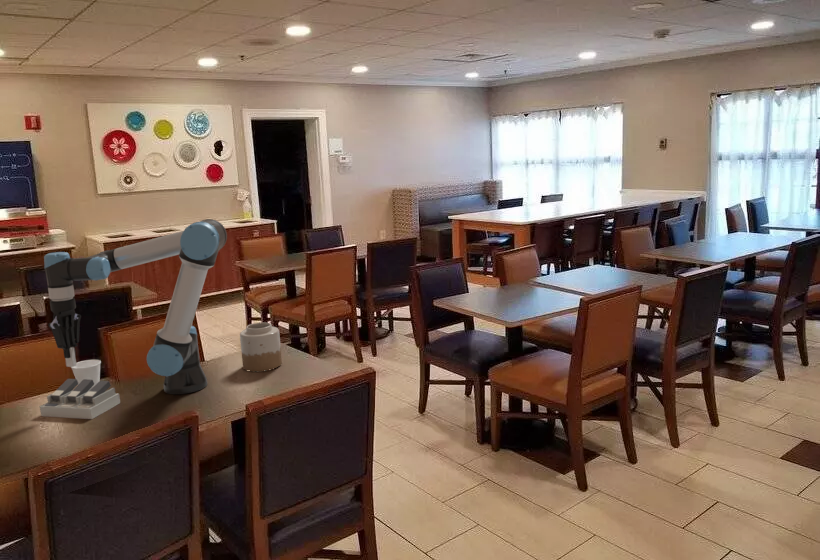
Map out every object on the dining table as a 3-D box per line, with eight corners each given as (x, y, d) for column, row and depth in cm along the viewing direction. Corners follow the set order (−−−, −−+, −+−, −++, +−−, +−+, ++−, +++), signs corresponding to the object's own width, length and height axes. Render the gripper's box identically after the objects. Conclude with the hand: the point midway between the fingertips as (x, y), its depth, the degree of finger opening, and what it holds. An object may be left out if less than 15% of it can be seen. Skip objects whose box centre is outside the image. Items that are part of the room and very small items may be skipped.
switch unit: (120, 402, 224) (118, 386, 223) (91, 419, 211) (89, 402, 210) (71, 400, 229) (69, 384, 228) (41, 416, 216) (38, 399, 214)
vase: (289, 364, 257) (286, 324, 254) (257, 375, 247) (253, 333, 243) (267, 357, 268) (264, 318, 265) (235, 367, 257) (231, 327, 254)
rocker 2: (94, 384, 223) (92, 379, 222) (78, 401, 216) (75, 396, 215) (85, 383, 224) (83, 379, 223) (69, 401, 217) (66, 396, 216)
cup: (93, 397, 231) (88, 368, 228) (68, 397, 233) (64, 368, 230) (110, 387, 240) (106, 359, 238) (87, 387, 242) (83, 359, 240)
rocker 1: (78, 383, 225) (76, 378, 224) (61, 400, 217) (59, 396, 216) (70, 383, 226) (67, 378, 225) (53, 400, 218) (50, 395, 217)
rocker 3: (110, 385, 222) (108, 380, 221) (94, 401, 214) (92, 396, 213) (101, 385, 223) (99, 380, 222) (84, 401, 215) (82, 396, 214)
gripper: (66, 294, 222) (75, 359, 226) (37, 302, 209) (47, 371, 214) (85, 294, 220) (93, 360, 225) (57, 303, 208) (67, 372, 212)
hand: (71, 365), depth 219 cm, fingers closed
